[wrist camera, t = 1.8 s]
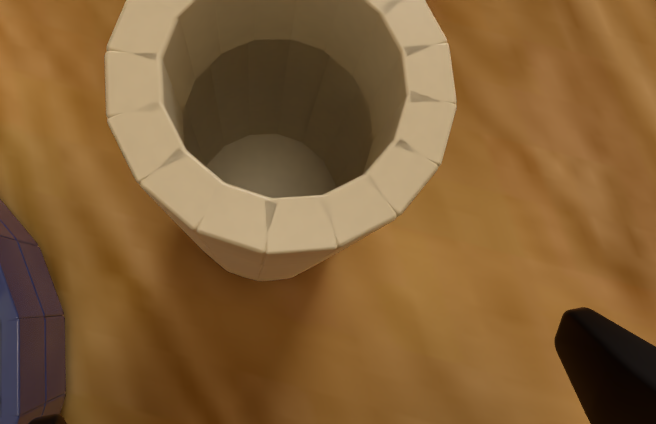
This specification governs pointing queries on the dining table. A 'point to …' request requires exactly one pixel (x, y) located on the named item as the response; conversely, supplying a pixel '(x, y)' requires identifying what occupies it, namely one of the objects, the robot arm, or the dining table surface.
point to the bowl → (28, 329)
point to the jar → (279, 120)
